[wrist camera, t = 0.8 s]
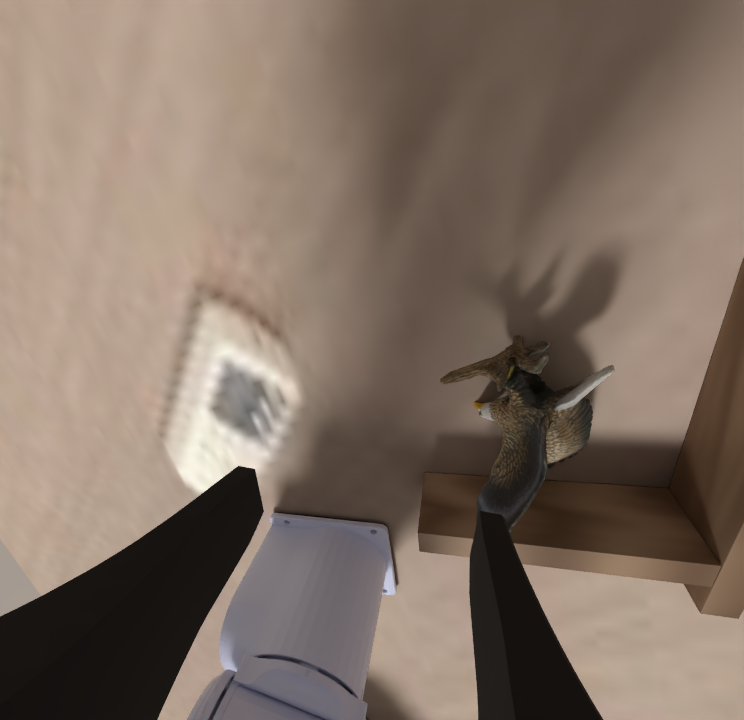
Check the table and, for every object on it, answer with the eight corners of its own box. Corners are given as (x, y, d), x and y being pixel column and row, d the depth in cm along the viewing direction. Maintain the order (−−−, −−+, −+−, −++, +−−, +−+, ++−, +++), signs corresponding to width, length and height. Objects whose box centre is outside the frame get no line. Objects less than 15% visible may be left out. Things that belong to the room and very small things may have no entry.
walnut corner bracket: (427, 511, 24) (421, 574, 20) (410, 282, 17) (396, 311, 13) (684, 534, 20) (738, 618, 16) (791, 255, 14) (925, 284, 10)
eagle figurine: (404, 364, 18) (445, 511, 20) (483, 392, 11) (535, 611, 13) (523, 321, 20) (552, 460, 22) (654, 323, 13) (680, 525, 15)
